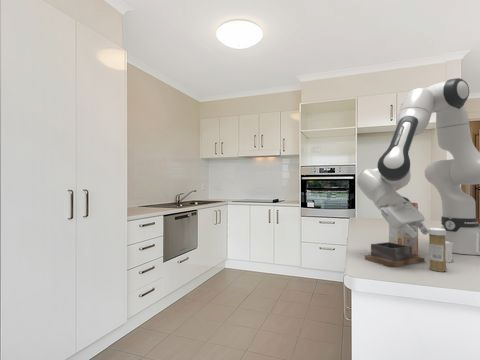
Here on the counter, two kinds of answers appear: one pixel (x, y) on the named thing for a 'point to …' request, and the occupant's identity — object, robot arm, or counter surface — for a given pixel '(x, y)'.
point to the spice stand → (392, 255)
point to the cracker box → (404, 236)
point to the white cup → (448, 251)
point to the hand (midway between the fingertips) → (421, 234)
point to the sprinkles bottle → (437, 249)
